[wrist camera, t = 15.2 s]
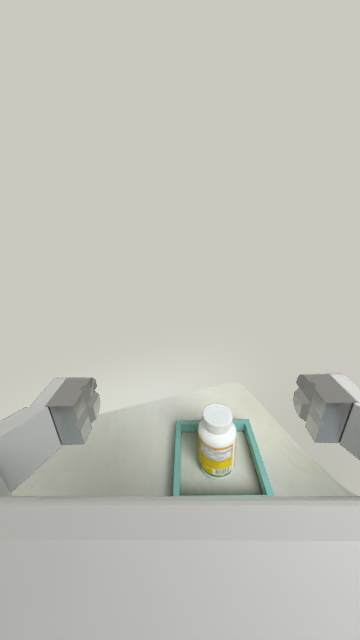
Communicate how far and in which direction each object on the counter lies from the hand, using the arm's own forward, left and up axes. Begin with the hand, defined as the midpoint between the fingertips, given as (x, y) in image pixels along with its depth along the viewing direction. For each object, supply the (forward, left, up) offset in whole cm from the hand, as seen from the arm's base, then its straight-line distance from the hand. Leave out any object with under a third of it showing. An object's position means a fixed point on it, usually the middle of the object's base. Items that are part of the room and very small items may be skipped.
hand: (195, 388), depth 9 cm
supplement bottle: (+3, +16, -27) cm, 31 cm away
